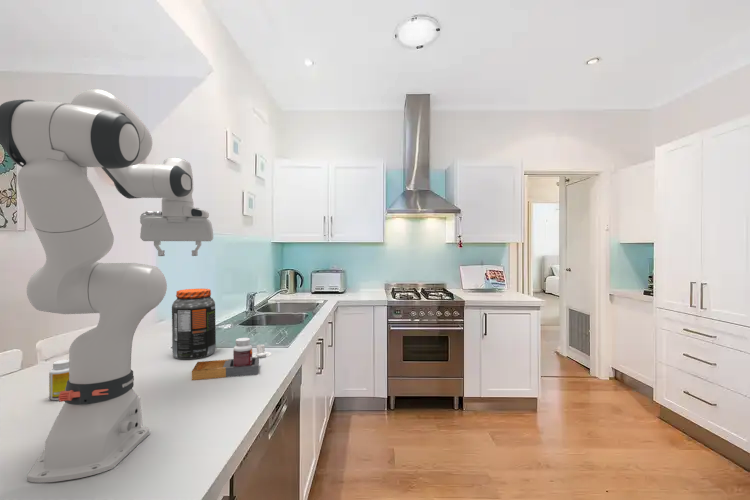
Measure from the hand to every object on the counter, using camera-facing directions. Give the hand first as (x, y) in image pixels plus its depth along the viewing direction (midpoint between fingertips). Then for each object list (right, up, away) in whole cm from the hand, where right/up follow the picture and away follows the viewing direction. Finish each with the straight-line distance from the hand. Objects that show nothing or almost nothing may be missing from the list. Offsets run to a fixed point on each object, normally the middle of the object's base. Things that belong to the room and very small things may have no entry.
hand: (178, 256), depth 118 cm
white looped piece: (+14, -41, +30) cm, 52 cm away
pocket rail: (+11, -40, +10) cm, 43 cm away
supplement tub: (-10, -40, +32) cm, 53 cm away
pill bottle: (+16, -40, +12) cm, 45 cm away
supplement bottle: (-27, -40, -11) cm, 50 cm away
